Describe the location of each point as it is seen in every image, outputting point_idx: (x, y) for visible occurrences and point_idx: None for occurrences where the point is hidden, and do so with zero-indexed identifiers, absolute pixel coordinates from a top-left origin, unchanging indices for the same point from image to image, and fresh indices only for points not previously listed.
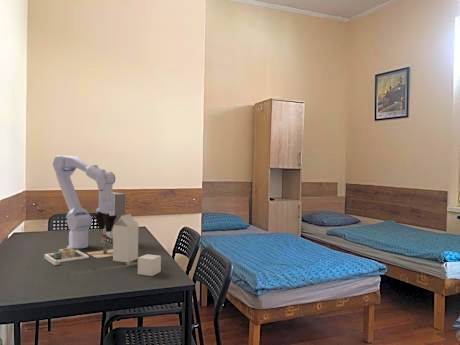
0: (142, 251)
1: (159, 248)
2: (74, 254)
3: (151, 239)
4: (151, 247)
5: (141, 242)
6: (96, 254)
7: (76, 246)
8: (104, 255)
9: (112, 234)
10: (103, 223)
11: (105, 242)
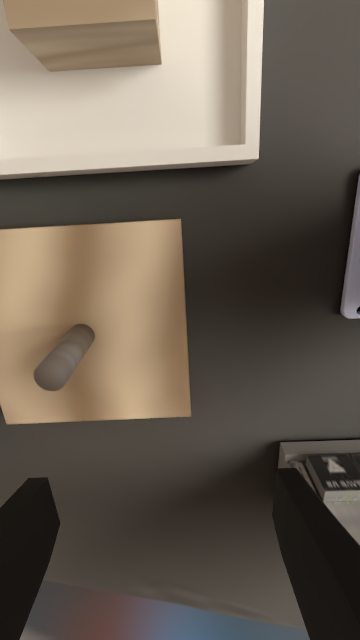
0: (91, 518)
1: (115, 590)
2: (31, 47)
3: None
4: (158, 575)
5: None
6: (69, 269)
7: None
8: (12, 307)
9: (356, 526)
10: (306, 604)
11: (50, 378)
